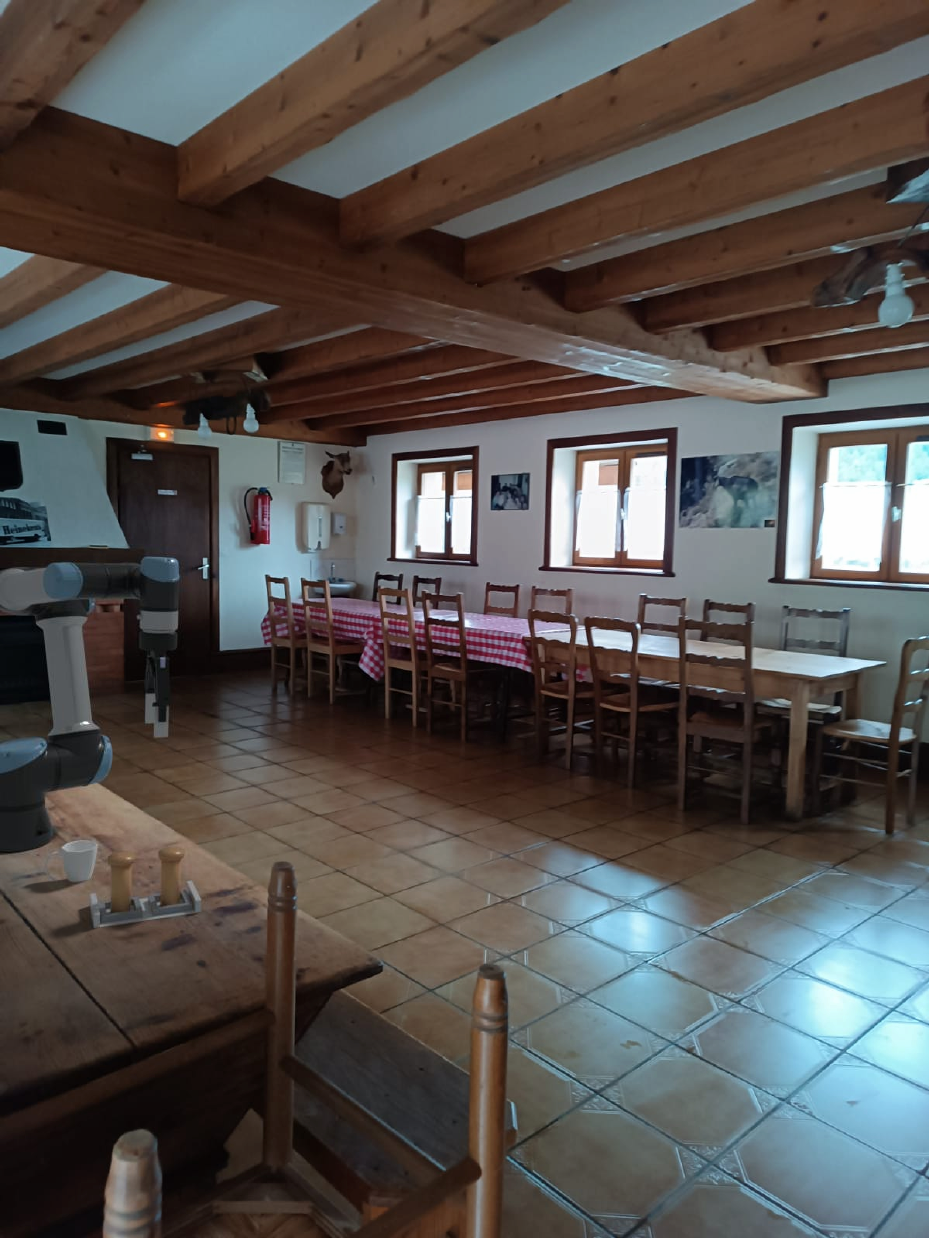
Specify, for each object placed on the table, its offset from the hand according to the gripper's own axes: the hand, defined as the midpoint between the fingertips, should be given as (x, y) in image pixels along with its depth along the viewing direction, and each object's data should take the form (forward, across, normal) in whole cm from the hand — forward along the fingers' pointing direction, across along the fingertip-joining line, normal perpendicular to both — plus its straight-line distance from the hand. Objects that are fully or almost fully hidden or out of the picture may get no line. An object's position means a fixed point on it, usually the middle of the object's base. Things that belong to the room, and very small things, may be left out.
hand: (156, 729), depth 181 cm
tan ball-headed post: (+30, +20, 0) cm, 37 cm away
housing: (+32, +20, -4) cm, 38 cm away
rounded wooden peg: (+30, +20, -8) cm, 37 cm away
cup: (+32, 0, -16) cm, 36 cm away
